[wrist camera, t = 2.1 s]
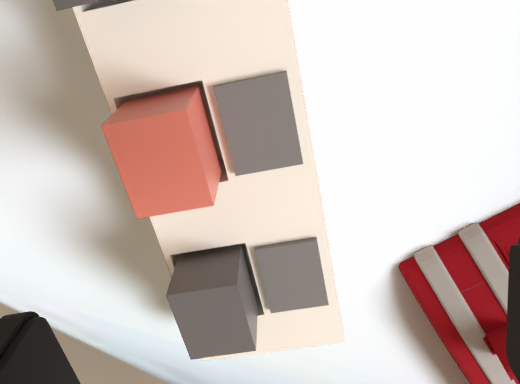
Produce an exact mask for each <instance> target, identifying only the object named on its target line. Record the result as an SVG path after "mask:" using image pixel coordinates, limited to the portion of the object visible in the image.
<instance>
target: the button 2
mask: <svg viewBox="0 0 520 384" xmlns="http://www.w3.org/2000/svg"><path fill="white" fill-rule="evenodd" d="M101 127H102V130H103V132H104V135H105V137H106V140H107V143H108V145H109V148H110V150H111V153H112V156H113V158H114V161H115V163H116V166H117V169H118V171H119V174H120V176H121V179H122V182H123V184H124V187H125V189H126V192H127V195H128V197H129V200H130V202H131V205H132V208H133V210H134V213H135V215H136V218H137V219H140V218H145V217H151V216H157V215H163V214H169V213H175V212H180V211H186V210H192V209H198V208H204V207H210V206H214V203H215V199H216V194H217V190H218V185H219V181H220V177H221V172H222V170H221V167H220V163H219V159H218V155H217V152H216V148H215V144H214V141H213V137H212V133H211V130H210V126H209V122H208V119H207V115H206V111H205V108H204V104H203V100H202V96H201V93H200V89H199V86H194V87H190V88H185V89H180V90H175V91H170V92H165V93H160V94H155V95H150V96H145V97H140V98H135V99H131V100H126V101H125V102H124V103H123V104H122V105H121V106H120V107H119V108H118V109H117V110H116V111H115V112H114V113H113V114H112V115H111V116H110V117H109V118H108V120H107V121H106V122H105V123H104V124H103V125H102V126H101Z"/></svg>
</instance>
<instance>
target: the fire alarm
mask: <svg viewBox="0 0 520 384" xmlns="http://www.w3.org/2000/svg"><path fill="white" fill-rule="evenodd" d="M519 239H520V204H518V205H516V206H514V207H512V208H510V209H508V210H506V211H504V212H502V213H500V214H498V215H496V216H494V217H492V218H490V219H488V220H486V221H484V222H482V223H480V224H478V223H473V224H471V225H469V226H467V227H465V228H463V229H461V230H459V231H458V235H456V236H454V237H452V238H450V239H448V240H446V241H443V242H441V243H439V244H437V245H435V246H432V245H429V246H427V247H425V248H423V249H421V250H419V251H417V252H415V253H414V256H413V257H411V258H409V259H407V260H405V261H403V262H402V263H400V265H399V269H400V271H401V273H402V275H403V277H404V279H405V280H406V282H407V284H408V285H409V287H410V289H411V291H412V292H413V294H414V296H415V297H416V299H417V301H418V302H419V304H420V306H421V308H422V309H423V311H424V313H425V314H426V316H427V317H428V319H429V321H430V322H431V324H432V326H433V327H434V329H435V331H436V332H437V334H438V335H439V337H440V339H441V340H442V342H443V343H444V345H445V347H446V348H447V350H448V351H449V353H450V354H451V356H452V357H453V359H454V361H455V362H456V364H457V365H458V367H459V368H460V370H461V371H462V372H463V374H464V375H465V377H466V378H467V380H468V381H469V383H470V384H519V382H518V380H517V378H516V377H515V375H514V373H513V372H512V370H511V368H510V365H509V363H508V359H507V355H506V330H507V303H508V276H509V251H510V247H511V246H512V245H516V244H518V241H519Z"/></svg>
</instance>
